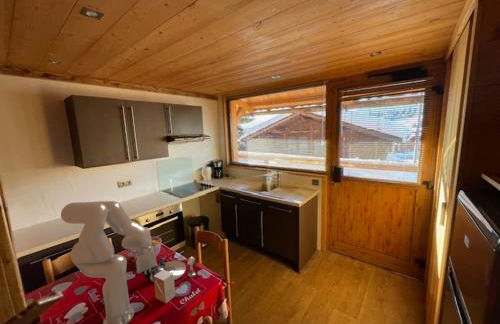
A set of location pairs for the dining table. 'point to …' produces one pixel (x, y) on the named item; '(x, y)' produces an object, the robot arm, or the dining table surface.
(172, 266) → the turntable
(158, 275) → the small box
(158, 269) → the cover
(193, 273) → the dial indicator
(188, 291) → the dining table surface
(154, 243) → the bowl of food
